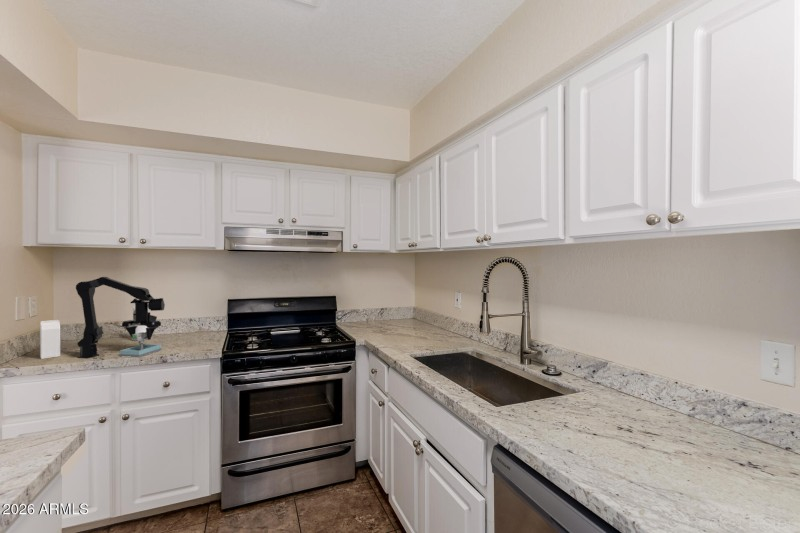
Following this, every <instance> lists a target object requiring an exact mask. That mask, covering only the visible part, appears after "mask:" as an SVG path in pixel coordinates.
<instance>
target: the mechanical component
mask: <svg viewBox="0 0 800 533" xmlns="http://www.w3.org/2000/svg"><path fill="white" fill-rule="evenodd" d="M132 338H133V340H132V341H133V342H138V344H139V345H140V350H143V344H145V341H146V340H145V339H147V340H148V337H147V332H141V333H136V334H132V337H131V339H132Z"/></svg>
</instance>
